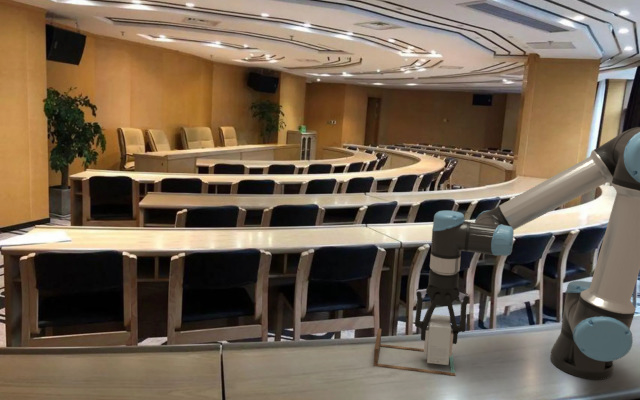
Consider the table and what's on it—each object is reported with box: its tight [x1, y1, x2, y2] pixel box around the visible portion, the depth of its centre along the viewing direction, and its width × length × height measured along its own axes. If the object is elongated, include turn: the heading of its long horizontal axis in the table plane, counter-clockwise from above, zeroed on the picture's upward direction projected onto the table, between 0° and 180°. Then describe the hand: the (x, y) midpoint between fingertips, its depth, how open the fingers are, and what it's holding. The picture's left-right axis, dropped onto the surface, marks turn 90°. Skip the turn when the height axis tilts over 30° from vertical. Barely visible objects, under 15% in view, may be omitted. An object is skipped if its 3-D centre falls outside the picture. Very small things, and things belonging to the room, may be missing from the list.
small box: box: [426, 314, 452, 366], centre depth 134 cm, size 8×6×10 cm
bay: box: [373, 328, 456, 377], centre depth 136 cm, size 21×12×5 cm, turn 79°
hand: (437, 352), depth 135 cm, fingers closed on small box, 6 cm apart
